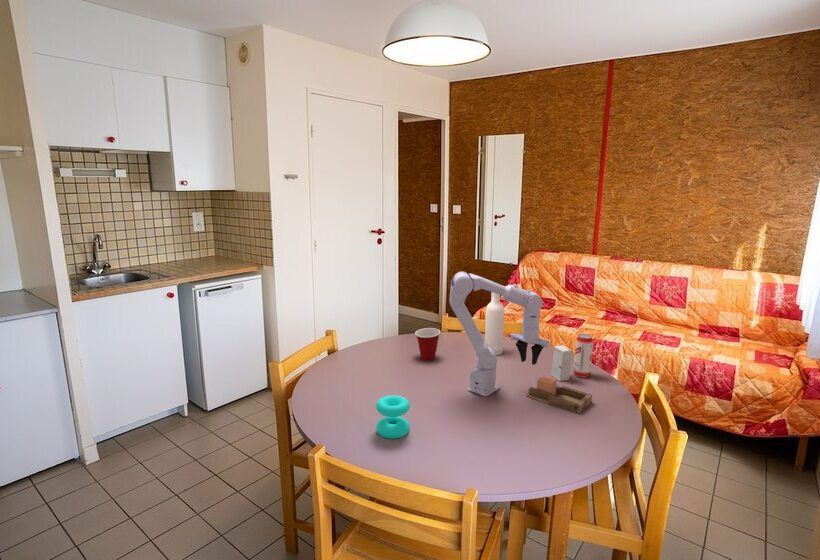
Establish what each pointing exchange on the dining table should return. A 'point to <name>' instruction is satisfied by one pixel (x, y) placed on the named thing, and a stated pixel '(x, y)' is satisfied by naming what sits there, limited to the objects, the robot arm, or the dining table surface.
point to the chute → (563, 398)
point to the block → (547, 384)
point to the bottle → (494, 324)
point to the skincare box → (561, 363)
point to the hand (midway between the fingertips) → (528, 362)
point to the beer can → (583, 355)
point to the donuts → (392, 416)
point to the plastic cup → (427, 342)
